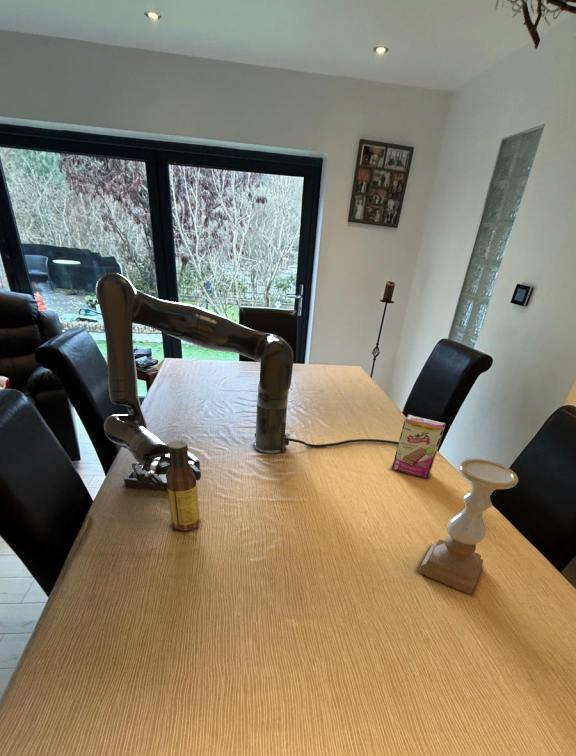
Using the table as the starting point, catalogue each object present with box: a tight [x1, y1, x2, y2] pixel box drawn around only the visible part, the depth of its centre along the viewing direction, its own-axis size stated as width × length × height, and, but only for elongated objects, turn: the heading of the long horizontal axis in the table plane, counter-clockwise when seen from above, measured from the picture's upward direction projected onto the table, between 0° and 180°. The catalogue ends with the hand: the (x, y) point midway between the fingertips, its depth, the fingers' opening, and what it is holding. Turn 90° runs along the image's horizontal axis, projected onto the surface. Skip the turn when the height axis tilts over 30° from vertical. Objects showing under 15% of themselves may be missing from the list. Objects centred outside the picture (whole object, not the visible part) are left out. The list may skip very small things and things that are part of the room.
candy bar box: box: [391, 414, 447, 480], centre depth 122 cm, size 11×5×16 cm, turn 65°
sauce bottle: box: [166, 439, 200, 532], centre depth 89 cm, size 7×6×20 cm
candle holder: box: [418, 458, 519, 595], centre depth 82 cm, size 11×11×24 cm
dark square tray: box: [123, 460, 168, 492], centre depth 112 cm, size 14×15×2 cm
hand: (180, 481), depth 89 cm, fingers open, 8 cm apart
